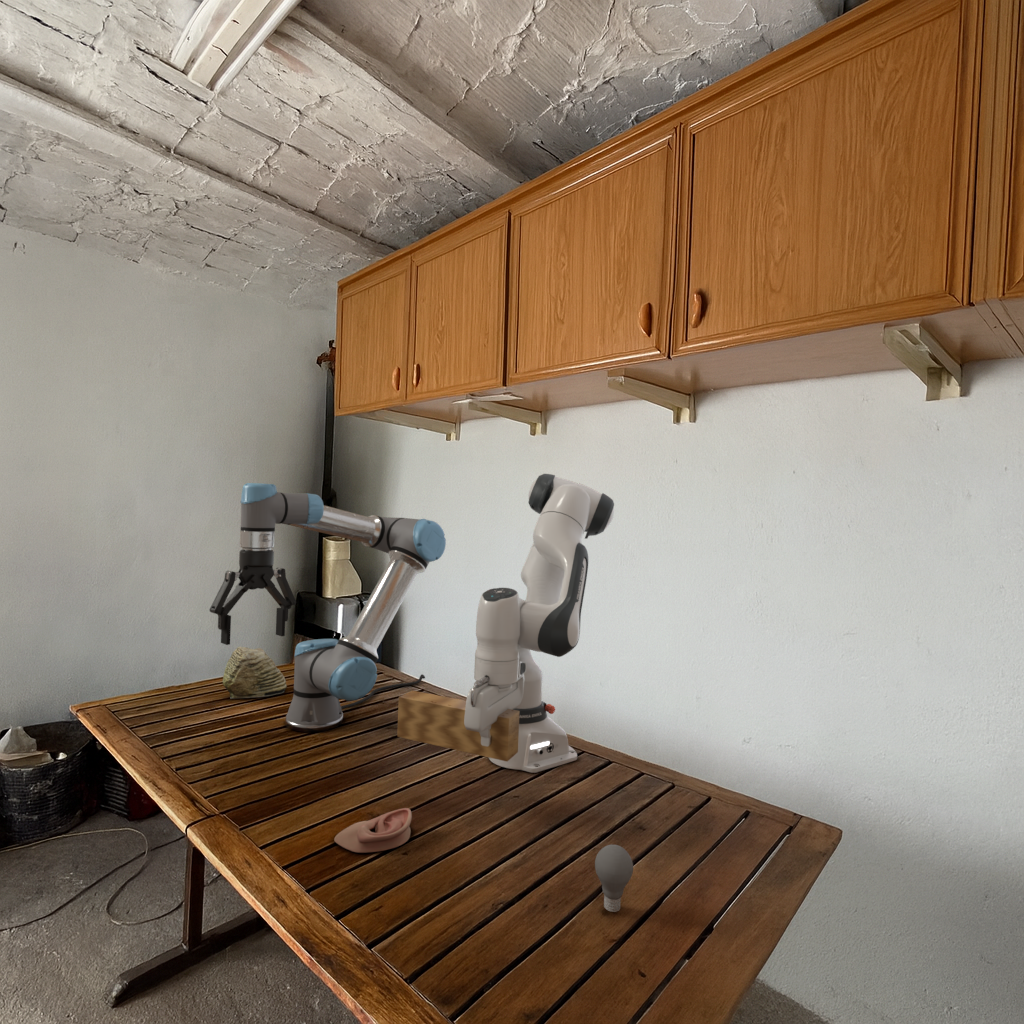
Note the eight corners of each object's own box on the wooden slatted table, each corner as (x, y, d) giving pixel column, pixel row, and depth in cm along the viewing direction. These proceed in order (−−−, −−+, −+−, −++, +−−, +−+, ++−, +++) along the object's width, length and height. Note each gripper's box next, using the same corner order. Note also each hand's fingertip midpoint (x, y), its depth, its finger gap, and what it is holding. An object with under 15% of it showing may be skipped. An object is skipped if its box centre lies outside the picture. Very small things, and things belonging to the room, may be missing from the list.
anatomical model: (326, 826, 114) (355, 797, 125) (325, 847, 114) (354, 817, 126) (396, 837, 112) (418, 806, 123) (395, 859, 112) (417, 827, 123)
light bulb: (589, 897, 103) (592, 837, 103) (625, 897, 104) (628, 837, 104) (597, 922, 97) (600, 857, 97) (635, 921, 98) (638, 857, 98)
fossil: (218, 695, 195) (220, 647, 195) (278, 685, 208) (279, 640, 207) (228, 703, 189) (230, 653, 188) (289, 692, 201) (290, 645, 201)
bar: (397, 736, 133) (398, 696, 133) (410, 728, 137) (412, 690, 137) (507, 761, 122) (509, 718, 122) (517, 752, 127) (519, 710, 127)
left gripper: (211, 552, 136) (208, 650, 136) (312, 548, 155) (309, 634, 156) (195, 549, 141) (192, 644, 141) (295, 546, 160) (292, 629, 161)
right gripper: (487, 686, 115) (484, 761, 116) (530, 661, 134) (527, 726, 134) (457, 681, 118) (454, 754, 118) (503, 657, 137) (500, 721, 137)
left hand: (253, 639), depth 148 cm, fingers open, 13 cm apart
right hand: (493, 739), depth 127 cm, fingers closed on bar, 5 cm apart
